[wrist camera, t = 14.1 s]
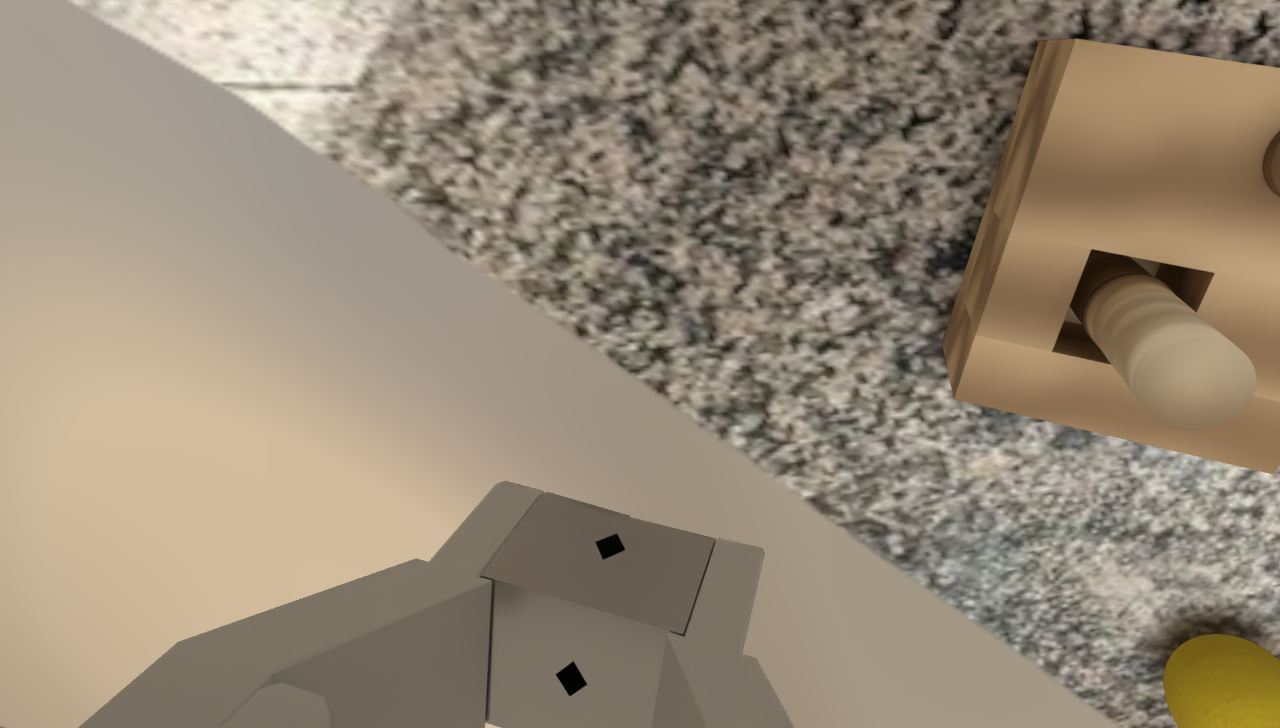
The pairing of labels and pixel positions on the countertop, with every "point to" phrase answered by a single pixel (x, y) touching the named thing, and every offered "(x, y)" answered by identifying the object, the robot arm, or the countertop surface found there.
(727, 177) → the countertop surface
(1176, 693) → the lemon
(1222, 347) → the peg
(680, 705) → the robot arm
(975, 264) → the wooden peg hole block
